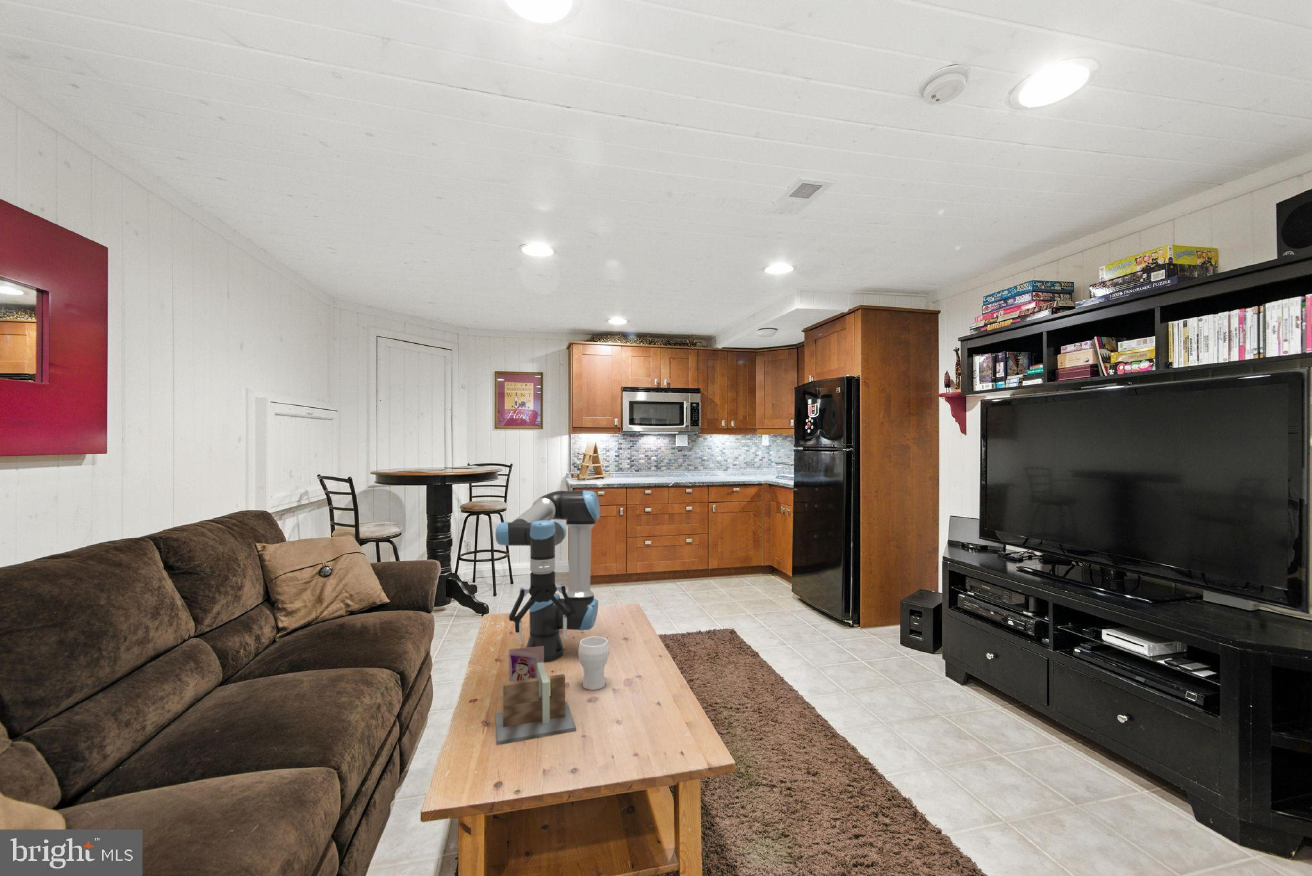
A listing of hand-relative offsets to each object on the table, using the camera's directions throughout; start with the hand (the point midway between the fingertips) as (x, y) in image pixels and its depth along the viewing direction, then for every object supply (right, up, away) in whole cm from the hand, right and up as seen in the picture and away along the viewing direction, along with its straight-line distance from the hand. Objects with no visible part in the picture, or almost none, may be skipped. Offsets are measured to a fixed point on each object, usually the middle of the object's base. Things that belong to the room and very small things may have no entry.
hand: (542, 640), depth 163 cm
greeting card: (-8, -23, +13) cm, 27 cm away
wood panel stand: (-1, -23, -6) cm, 23 cm away
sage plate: (0, -22, -1) cm, 22 cm away
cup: (+14, -23, +19) cm, 33 cm away
